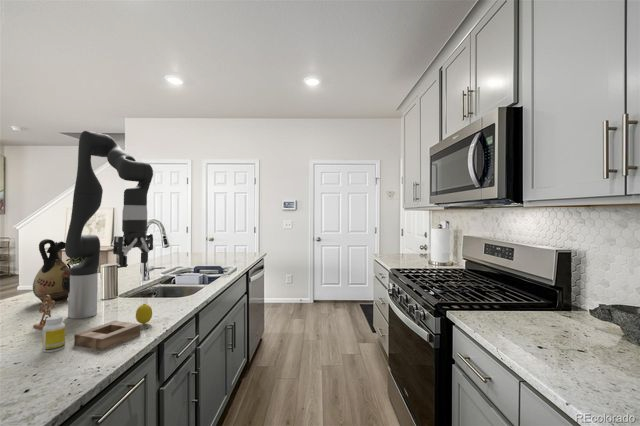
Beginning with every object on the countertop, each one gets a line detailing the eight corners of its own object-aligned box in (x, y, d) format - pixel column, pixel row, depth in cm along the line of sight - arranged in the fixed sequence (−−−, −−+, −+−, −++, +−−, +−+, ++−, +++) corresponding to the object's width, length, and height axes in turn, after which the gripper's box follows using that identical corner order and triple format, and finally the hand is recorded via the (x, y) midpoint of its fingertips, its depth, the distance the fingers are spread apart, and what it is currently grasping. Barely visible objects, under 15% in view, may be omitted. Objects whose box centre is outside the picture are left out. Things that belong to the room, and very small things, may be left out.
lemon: (144, 327, 117) (145, 306, 117) (132, 326, 118) (132, 305, 118) (155, 322, 122) (155, 302, 122) (143, 321, 123) (143, 301, 123)
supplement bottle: (69, 347, 100) (69, 316, 100) (49, 354, 94) (50, 321, 94) (57, 344, 101) (58, 314, 101) (37, 351, 96) (38, 319, 96)
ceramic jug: (55, 296, 158) (56, 237, 158) (82, 298, 156) (83, 237, 156) (18, 306, 141) (20, 239, 142) (48, 308, 139) (49, 240, 139)
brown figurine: (32, 327, 116) (33, 295, 116) (44, 324, 120) (45, 292, 120) (48, 330, 113) (49, 297, 113) (60, 327, 117) (61, 294, 117)
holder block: (74, 345, 101) (74, 334, 101) (114, 330, 114) (114, 320, 114) (101, 350, 97) (102, 339, 97) (140, 334, 110) (140, 324, 110)
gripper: (143, 218, 118) (142, 261, 118) (107, 218, 104) (106, 267, 104) (159, 218, 116) (158, 262, 116) (125, 219, 102) (124, 269, 102)
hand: (133, 264), depth 110 cm, fingers open, 8 cm apart
